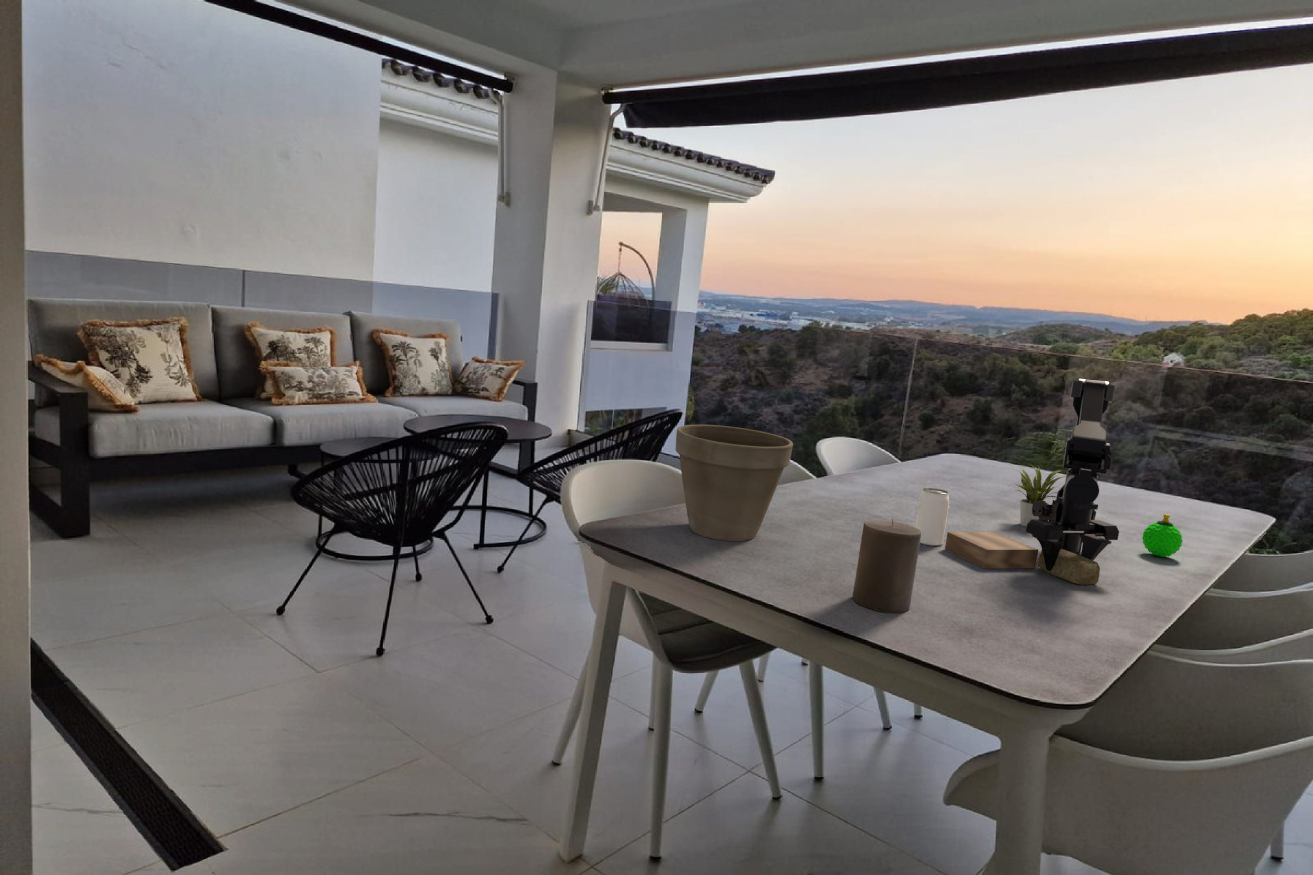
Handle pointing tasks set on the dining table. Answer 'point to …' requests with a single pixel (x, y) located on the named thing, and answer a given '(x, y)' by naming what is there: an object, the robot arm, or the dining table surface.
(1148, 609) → the dining table surface
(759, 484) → the plant pot
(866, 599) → the pillar candle
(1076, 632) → the dining table surface
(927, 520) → the can
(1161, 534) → the ornament
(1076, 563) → the stone block
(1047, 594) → the dining table surface
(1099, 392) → the robot arm
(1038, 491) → the house plant
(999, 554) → the plinth
